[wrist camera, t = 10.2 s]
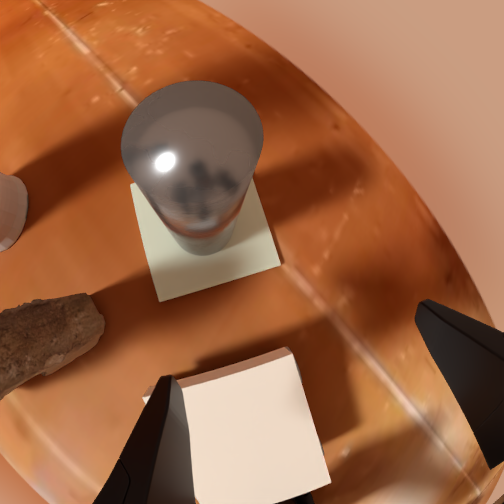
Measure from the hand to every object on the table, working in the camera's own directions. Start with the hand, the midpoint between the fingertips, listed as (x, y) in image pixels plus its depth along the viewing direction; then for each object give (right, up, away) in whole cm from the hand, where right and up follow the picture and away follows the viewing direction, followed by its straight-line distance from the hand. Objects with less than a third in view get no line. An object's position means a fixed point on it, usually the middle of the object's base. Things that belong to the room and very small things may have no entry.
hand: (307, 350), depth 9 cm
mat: (-5, +5, +12) cm, 14 cm away
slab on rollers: (-3, -10, +10) cm, 14 cm away
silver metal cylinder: (-5, +5, +11) cm, 13 cm away
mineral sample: (-20, -5, +9) cm, 22 cm away
